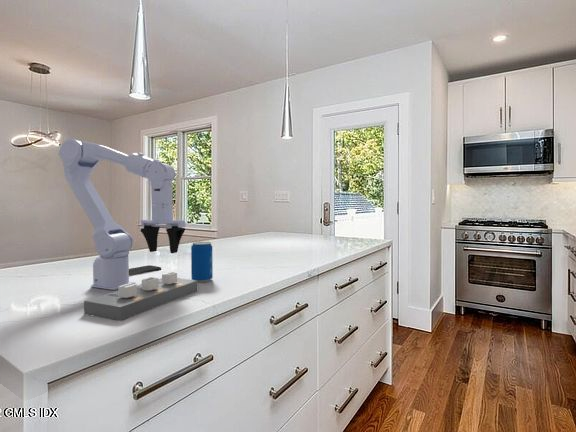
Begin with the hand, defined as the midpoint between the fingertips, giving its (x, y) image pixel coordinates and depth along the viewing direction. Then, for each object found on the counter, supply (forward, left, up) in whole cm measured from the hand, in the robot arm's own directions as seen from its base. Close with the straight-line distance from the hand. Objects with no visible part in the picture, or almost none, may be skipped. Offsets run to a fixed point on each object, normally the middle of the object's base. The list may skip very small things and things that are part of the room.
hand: (163, 252), depth 100 cm
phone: (-24, +14, -11) cm, 30 cm away
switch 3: (+7, -5, -7) cm, 11 cm away
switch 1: (+7, -19, -7) cm, 21 cm away
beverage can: (+5, +12, -11) cm, 17 cm away
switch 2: (+7, -12, -7) cm, 15 cm away
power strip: (+6, -10, -10) cm, 15 cm away
